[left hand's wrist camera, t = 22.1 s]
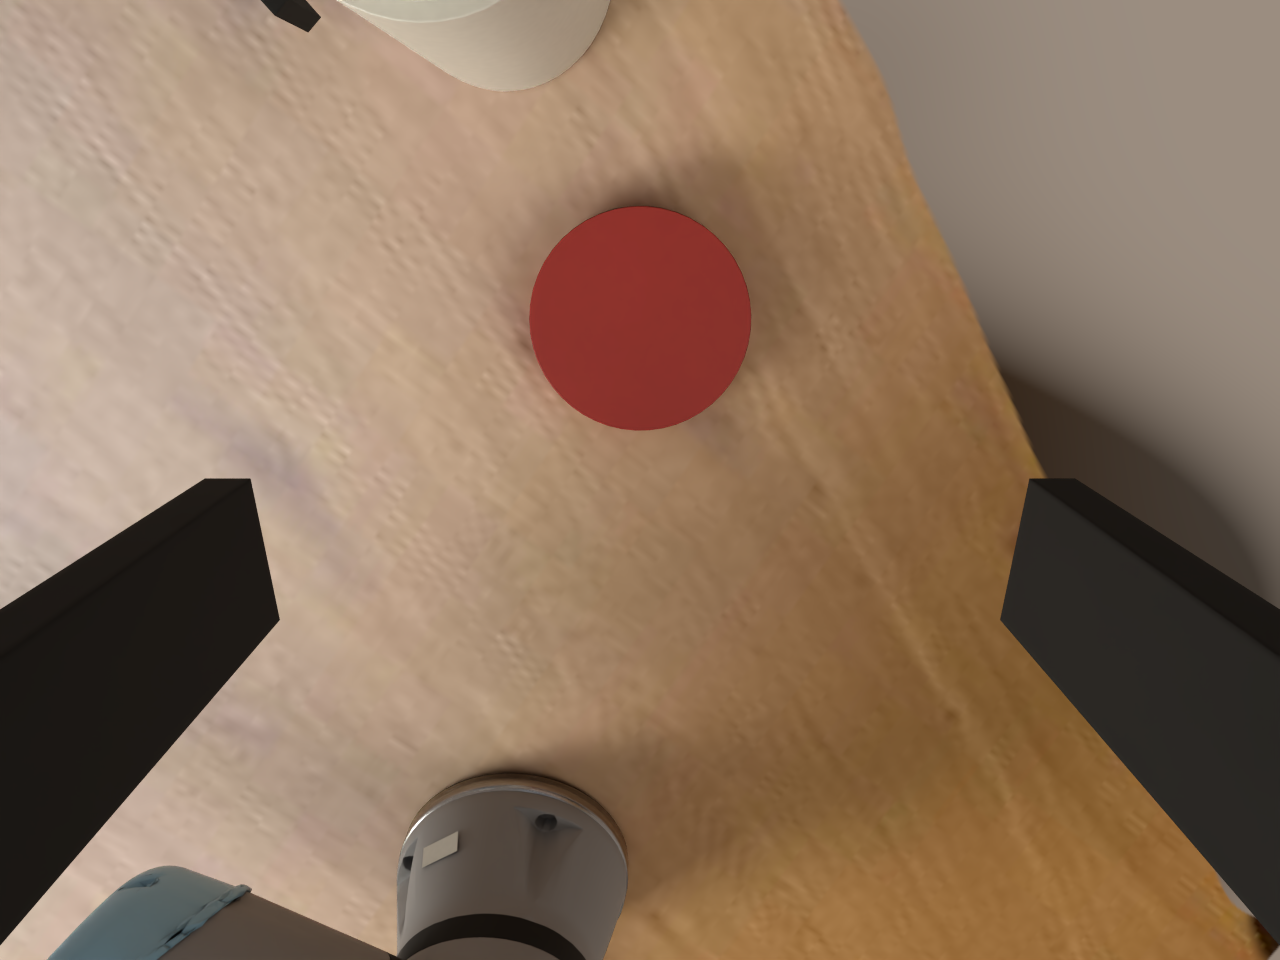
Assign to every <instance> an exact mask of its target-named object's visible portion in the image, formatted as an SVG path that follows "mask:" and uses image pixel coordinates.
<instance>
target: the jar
mask: <svg viewBox="0 0 1280 960" xmlns="http://www.w3.org/2000/svg"><path fill="white" fill-rule="evenodd" d="M337 1H338V2H340V3H341V4H343V5H344V6H346V7H347V8H349V9H351V10H352V11H354V12H355V13H357V14H358V15H360V16H361V17H363V18H364V19H366V20H367V21H369V22H370V23H372V24H373V25H375V26H376V27H378V28H379V29H381V30H382V31H384V32H385V33H387V34H388V35H390V36H391V37H393V38H394V39H396V40H397V41H399V42H401V43H402V44H404V45H405V46H407V47H408V48H410V49H411V50H413V51H414V52H416V53H417V54H419V55H420V56H422V57H423V58H425V59H426V60H428V61H429V62H431V63H432V64H434V65H435V66H437V67H438V68H440V69H441V70H443V71H444V72H446V73H448V74H449V75H451V76H453V77H455V78H456V79H458V80H460V81H462V82H465V83H467V84H470V85H472V86H475V87H479V88H483V89H487V90H493V91H503V92H504V91H520V90H525V89H530V88H534V87H536V86H539V85H542V84H545V83H547V82H549V81H551V80H552V79H554V78H556V77H558V76H559V75H561V74H562V73H564V72H565V71H566V70H568V69H569V68H570V67H571V66H572V65H573V64H574V63H575V62H576V61H577V60H579V59H580V58H581V57H582V55H583V54H584V53H585V51H586V50H587V49H588V48H589V46H590V45H591V43H592V42H593V40H594V38H595V37H596V35H597V33H598V32H599V30H600V27H601V25H602V23H603V21H604V18H605V16H606V13H607V10H608V6H609V3H610V0H337Z"/></svg>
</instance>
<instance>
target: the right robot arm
mask: <svg viewBox="0 0 1280 960" xmlns="http://www.w3.org/2000/svg"><path fill="white" fill-rule="evenodd" d="M261 1H262V2H263V3H264V4H265V5H266V6H267V7H268V9H269V10H270V11H271V12H272V13H273V14H274V15H275V16H277V17H279V18H281V19H283V20H285V21H287V22H289V23H291V24H293V25H295V26H297V27H299V28H301V29H303V30H304V31H306V32H309V31H310V30H311V29H312V27H313V26H314V25H315V24H316V23H317V21H318V20H319V19H320V18H321V17H320V16H319V14H318V13H317V12H316V11H315V10H314V9H313V8H312V7H311V6H310V4H309V3H308V2H307V1H306V0H261Z"/></svg>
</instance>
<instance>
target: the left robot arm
mask: <svg viewBox="0 0 1280 960" xmlns="http://www.w3.org/2000/svg"><path fill="white" fill-rule="evenodd" d="M279 620H280V619H279V614H278V609H277V604H276V599H275V595H274V590H273V585H272V580H271V575H270V570H269V566H268V561H267V556H266V551H265V546H264V542H263V537H262V532H261V527H260V522H259V517H258V513H257V508H256V503H255V498H254V493H253V488H252V484H251V479H204V480H202V481H200V482H199V483H197V484H196V485H194V486H193V487H191V488H189V489H188V490H186V491H185V492H183V493H182V494H180V495H179V496H177V497H175V498H174V499H172V500H171V501H169V502H168V503H166V504H164V505H163V506H161V507H160V508H158V509H157V510H155V511H154V512H152V513H150V514H149V515H147V516H146V517H144V518H143V519H141V520H139V521H138V522H136V523H135V524H133V525H132V526H130V527H128V528H127V529H125V530H124V531H122V532H121V533H119V534H118V535H116V536H114V537H113V538H111V539H110V540H108V541H107V542H105V543H103V544H102V545H100V546H99V547H97V548H96V549H94V550H92V551H91V552H89V553H88V554H86V555H85V556H83V557H82V558H80V559H78V560H77V561H75V562H74V563H72V564H71V565H69V566H67V567H66V568H64V569H63V570H61V571H60V572H58V573H57V574H55V575H53V576H52V577H50V578H49V579H47V580H46V581H44V582H42V583H41V584H39V585H38V586H36V587H35V588H33V589H31V590H30V591H28V592H27V593H25V594H24V595H22V596H21V597H19V598H17V599H16V600H14V601H13V602H11V603H10V604H8V605H6V606H5V607H3V608H2V609H0V945H1V944H2V943H3V941H4V940H5V939H6V938H7V937H8V936H9V935H10V933H11V932H12V931H13V930H14V929H15V928H16V926H17V925H18V924H19V923H20V922H21V921H22V919H23V918H24V917H25V916H26V915H27V914H28V912H29V911H30V910H31V909H32V908H33V907H34V905H35V904H36V903H37V902H38V901H39V900H40V898H41V897H42V896H43V895H44V894H45V893H46V891H47V890H48V889H49V888H50V887H51V886H52V884H53V883H54V882H55V881H56V880H57V879H58V877H59V876H60V875H61V874H62V873H63V872H64V870H65V869H66V868H67V867H68V866H69V865H70V863H71V862H72V861H73V860H74V859H75V858H76V857H77V855H78V854H79V853H80V852H81V851H82V850H83V848H84V847H85V846H86V845H87V844H88V843H89V841H90V840H91V839H92V838H93V837H94V836H95V834H96V833H97V832H98V831H99V830H100V829H101V827H102V826H103V825H104V824H105V823H106V822H107V820H108V819H109V818H110V817H111V816H112V815H113V813H114V812H115V811H116V810H117V809H118V808H119V806H120V805H121V804H122V803H123V802H124V801H125V799H126V798H127V797H128V796H129V795H130V794H131V792H132V791H133V790H134V789H135V788H136V787H137V785H138V784H139V783H140V782H141V781H142V780H143V779H144V777H145V776H146V775H147V774H148V773H149V772H150V770H151V769H152V768H153V767H154V766H155V765H156V763H157V762H158V761H159V760H160V759H161V758H162V756H163V755H164V754H165V753H166V752H167V751H168V749H169V748H170V747H171V746H172V745H173V744H174V742H175V741H176V740H177V739H178V738H179V737H180V735H181V734H182V733H183V732H184V731H185V730H186V728H187V727H188V726H189V725H190V724H191V723H192V721H193V720H194V719H195V718H196V717H197V716H198V714H199V713H200V712H201V711H202V710H203V709H204V707H205V706H206V705H207V704H208V703H209V702H210V701H211V699H212V698H213V697H214V696H215V695H216V694H217V692H218V691H219V690H220V689H221V688H222V687H223V685H224V684H225V683H226V682H227V681H228V680H229V678H230V677H231V676H232V675H233V674H234V673H235V671H236V670H237V669H238V668H239V667H240V666H241V664H242V663H243V662H244V661H245V660H246V659H247V657H248V656H249V655H250V654H251V653H252V652H253V650H254V649H255V648H256V647H257V646H258V645H259V643H260V642H261V641H262V640H263V639H264V638H265V636H266V635H267V634H268V633H269V632H270V631H271V630H272V628H273V627H274V626H275V625H276V624H277V623H278V621H279ZM1000 620H1001V621H1002V623H1003V624H1004V625H1005V626H1006V627H1007V628H1008V630H1009V631H1010V632H1011V633H1012V634H1013V635H1014V636H1015V638H1016V639H1017V640H1018V641H1019V642H1020V643H1021V645H1022V646H1023V647H1024V648H1025V649H1026V650H1027V652H1028V653H1029V654H1030V655H1031V656H1032V657H1033V659H1034V660H1035V661H1036V662H1037V663H1038V664H1039V666H1040V667H1041V668H1042V669H1043V670H1044V671H1045V673H1046V674H1047V675H1048V676H1049V677H1050V678H1051V680H1052V681H1053V682H1054V683H1055V684H1056V685H1057V687H1058V688H1059V689H1060V690H1061V691H1062V692H1063V694H1064V695H1065V696H1066V697H1067V698H1068V699H1069V701H1070V702H1071V703H1072V704H1073V705H1074V706H1075V708H1076V709H1077V710H1078V711H1079V712H1080V713H1081V714H1082V716H1083V717H1084V718H1085V719H1086V720H1087V721H1088V723H1089V724H1090V725H1091V726H1092V727H1093V728H1094V730H1095V731H1096V732H1097V733H1098V734H1099V735H1100V737H1101V738H1102V739H1103V740H1104V741H1105V742H1106V744H1107V745H1108V746H1109V747H1110V748H1111V749H1112V751H1113V752H1114V753H1115V754H1116V755H1117V756H1118V758H1119V759H1120V760H1121V761H1122V762H1123V763H1124V765H1125V766H1126V767H1127V768H1128V769H1129V770H1130V772H1131V773H1132V774H1133V775H1134V776H1135V777H1136V779H1137V780H1138V781H1139V782H1140V783H1141V784H1142V785H1143V787H1144V788H1145V789H1146V790H1147V791H1148V792H1149V794H1150V795H1151V796H1152V797H1153V798H1154V799H1155V801H1156V802H1157V803H1158V804H1159V805H1160V806H1161V808H1162V809H1163V810H1164V811H1165V812H1166V813H1167V815H1168V816H1169V817H1170V818H1171V819H1172V820H1173V822H1174V823H1175V824H1176V825H1177V826H1178V827H1179V829H1180V830H1181V831H1182V832H1183V833H1184V834H1185V836H1186V837H1187V838H1188V839H1189V840H1190V841H1191V843H1192V844H1193V845H1194V846H1195V847H1196V848H1197V850H1198V851H1199V852H1200V853H1201V854H1202V855H1203V857H1204V858H1205V859H1206V860H1207V861H1208V862H1209V863H1210V865H1211V866H1212V867H1213V868H1214V869H1215V870H1216V872H1217V873H1218V874H1219V875H1220V876H1221V877H1222V879H1223V880H1224V881H1225V882H1226V883H1227V884H1228V886H1229V887H1230V888H1231V889H1232V890H1233V891H1234V893H1235V894H1236V895H1237V896H1238V897H1239V898H1240V900H1241V901H1242V902H1243V903H1244V904H1245V905H1246V907H1247V908H1248V909H1249V910H1250V911H1251V912H1252V914H1253V915H1254V916H1255V917H1256V918H1257V919H1258V921H1259V922H1260V923H1261V924H1262V925H1263V926H1264V928H1265V929H1266V930H1267V931H1268V932H1269V933H1270V935H1271V936H1272V937H1273V938H1274V939H1275V940H1276V941H1277V943H1278V944H1279V945H1280V609H1278V608H1277V607H1275V606H1273V605H1272V604H1270V603H1269V602H1267V601H1266V600H1264V599H1263V598H1261V597H1259V596H1258V595H1256V594H1255V593H1253V592H1252V591H1250V590H1249V589H1247V588H1245V587H1244V586H1242V585H1241V584H1239V583H1238V582H1236V581H1234V580H1233V579H1231V578H1230V577H1228V576H1227V575H1225V574H1223V573H1222V572H1220V571H1219V570H1217V569H1216V568H1214V567H1213V566H1211V565H1209V564H1208V563H1206V562H1205V561H1203V560H1202V559H1200V558H1198V557H1197V556H1195V555H1194V554H1192V553H1191V552H1189V551H1188V550H1186V549H1184V548H1183V547H1181V546H1180V545H1178V544H1177V543H1175V542H1173V541H1172V540H1170V539H1169V538H1167V537H1166V536H1164V535H1162V534H1161V533H1159V532H1158V531H1156V530H1155V529H1153V528H1152V527H1150V526H1148V525H1147V524H1145V523H1144V522H1142V521H1141V520H1139V519H1137V518H1136V517H1134V516H1133V515H1131V514H1130V513H1128V512H1126V511H1125V510H1123V509H1122V508H1120V507H1119V506H1117V505H1116V504H1114V503H1112V502H1111V501H1109V500H1108V499H1106V498H1105V497H1103V496H1101V495H1100V494H1098V493H1097V492H1095V491H1094V490H1092V489H1091V488H1089V487H1087V486H1086V485H1084V484H1083V483H1081V482H1080V481H1078V480H1076V479H1029V484H1028V488H1027V493H1026V498H1025V503H1024V508H1023V513H1022V517H1021V522H1020V527H1019V532H1018V537H1017V542H1016V546H1015V551H1014V556H1013V561H1012V566H1011V570H1010V575H1009V580H1008V585H1007V590H1006V595H1005V599H1004V604H1003V609H1002V614H1001V619H1000ZM627 884H628V853H627V848H626V844H625V841H624V838H623V835H622V833H621V831H620V829H619V828H618V826H617V824H616V823H615V821H614V820H613V819H612V817H611V816H610V815H609V814H608V813H607V812H606V811H605V810H604V809H603V807H601V806H600V805H599V804H598V803H597V802H596V801H594V800H593V799H591V798H590V797H589V796H587V795H586V794H584V793H582V792H580V791H579V790H577V789H575V788H573V787H571V786H568V785H566V784H564V783H561V782H558V781H555V780H552V779H548V778H545V777H540V776H535V775H527V774H514V773H507V774H492V775H485V776H480V777H475V778H472V779H468V780H465V781H462V782H460V783H457V784H455V785H453V786H451V787H449V788H447V789H445V790H443V791H442V792H440V793H438V794H437V795H436V796H434V797H433V798H432V799H431V800H429V801H428V802H427V803H426V804H425V805H424V806H423V807H422V809H421V810H420V811H419V812H418V813H417V815H416V817H415V818H414V820H413V821H412V823H411V825H410V828H409V830H408V833H407V836H406V838H405V841H404V844H403V847H402V850H401V853H400V858H399V865H398V870H397V956H394V955H392V954H389V953H388V952H385V951H383V950H381V949H378V948H376V947H374V946H372V945H369V944H367V943H365V942H362V941H360V940H358V939H355V938H353V937H351V936H349V935H346V934H344V933H342V932H339V931H337V930H335V929H332V928H330V927H328V926H326V925H323V924H321V923H319V922H316V921H314V920H312V919H309V918H307V917H305V916H303V915H300V914H298V913H296V912H293V911H291V910H289V909H286V908H284V907H282V906H279V905H277V904H275V903H273V902H270V901H268V900H266V899H263V898H261V897H259V896H256V895H254V894H252V893H250V892H251V890H252V889H251V888H250V887H248V886H247V885H238V886H236V887H235V886H233V885H230V884H227V883H224V882H221V881H219V880H216V879H213V878H210V877H208V876H205V875H202V874H199V873H197V872H194V871H191V870H188V869H186V868H182V867H177V866H162V867H157V868H153V869H150V870H148V871H146V872H143V873H141V874H139V875H137V876H136V877H134V878H132V879H131V880H129V881H128V882H126V883H125V884H124V885H122V886H121V887H120V888H119V889H117V890H116V891H115V892H114V893H113V894H112V895H110V896H109V897H108V898H107V899H106V900H105V901H104V902H103V903H102V904H101V905H100V906H99V907H98V908H97V909H95V910H94V911H93V912H92V913H91V914H90V915H89V916H88V917H87V918H86V919H85V920H84V921H83V922H82V923H81V924H80V925H79V926H78V927H77V928H76V929H75V930H74V932H73V933H72V934H71V935H70V936H69V937H68V938H67V939H66V940H65V941H64V942H63V943H62V944H61V945H60V946H59V947H58V948H57V949H56V950H55V951H54V953H53V954H52V955H51V956H50V957H49V958H48V959H47V960H603V958H604V955H605V953H606V950H607V947H608V944H609V942H610V939H611V936H612V933H613V931H614V928H615V925H616V922H617V920H618V918H619V916H620V914H621V911H622V908H623V905H624V901H625V896H626V891H627Z"/></svg>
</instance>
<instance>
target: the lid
mask: <svg viewBox="0 0 1280 960" xmlns="http://www.w3.org/2000/svg"><path fill="white" fill-rule="evenodd" d="M529 321H530V334H531V339H532V344H533V349H534V351H535V354H536V357H537V360H538V363H539V365H540V367H541V369H542V371H543V373H544V375H545V376H546V378H547V379H548V381H549V382H550V384H551V385H552V387H553V388H554V389H555V390H556V392H557V393H558V394H559V395H560V396H561V397H562V398H563V399H564V400H565V401H566V402H567V403H568V404H569V405H571V406H572V407H573V408H575V409H576V410H577V411H579V412H580V413H582V414H583V415H585V416H587V417H589V418H591V419H593V420H595V421H597V422H600V423H602V424H605V425H608V426H611V427H616V428H620V429H627V430H654V429H661V428H665V427H669V426H672V425H676V424H678V423H681V422H683V421H686V420H688V419H690V418H692V417H693V416H695V415H697V414H699V413H700V412H702V411H703V410H705V409H706V408H707V407H709V406H710V405H711V404H712V403H713V402H714V401H715V400H716V399H718V398H719V397H720V396H721V395H722V394H723V392H724V391H725V390H726V388H727V387H728V386H729V385H730V383H731V382H732V380H733V379H734V377H735V375H736V374H737V372H738V370H739V368H740V366H741V364H742V361H743V359H744V356H745V353H746V350H747V346H748V342H749V336H750V330H751V308H750V299H749V295H748V290H747V286H746V283H745V281H744V278H743V275H742V273H741V270H740V269H739V267H738V265H737V263H736V261H735V259H734V258H733V256H732V255H731V253H730V252H729V251H728V249H727V248H726V247H725V245H724V244H723V243H722V242H721V241H720V240H719V239H718V238H717V237H716V236H715V235H714V234H713V233H711V232H710V231H709V230H708V229H706V228H705V227H704V226H703V225H701V224H699V223H698V222H696V221H694V220H693V219H691V218H689V217H686V216H684V215H682V214H679V213H677V212H674V211H671V210H667V209H663V208H658V207H650V206H629V207H623V208H617V209H613V210H610V211H607V212H604V213H601V214H599V215H596V216H594V217H592V218H590V219H588V220H586V221H584V222H583V223H581V224H580V225H578V226H577V227H575V228H574V229H573V230H572V231H570V232H569V233H568V234H567V235H566V236H565V237H563V238H562V239H561V241H560V242H559V243H558V244H557V245H556V246H555V247H554V249H553V250H552V251H551V253H550V254H549V256H548V257H547V259H546V260H545V262H544V264H543V266H542V268H541V270H540V272H539V274H538V276H537V279H536V282H535V285H534V288H533V292H532V298H531V303H530V317H529Z"/></svg>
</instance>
